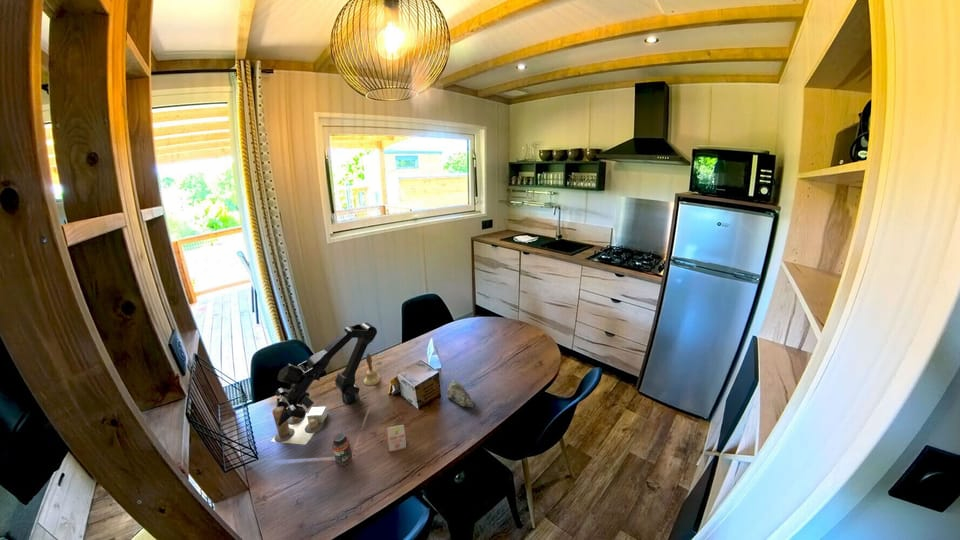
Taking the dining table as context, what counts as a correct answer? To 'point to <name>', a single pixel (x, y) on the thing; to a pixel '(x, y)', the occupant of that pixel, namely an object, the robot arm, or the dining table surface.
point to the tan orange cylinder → (284, 428)
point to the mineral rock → (459, 394)
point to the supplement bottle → (341, 449)
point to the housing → (317, 414)
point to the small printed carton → (396, 438)
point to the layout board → (299, 430)
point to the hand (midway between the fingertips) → (277, 422)
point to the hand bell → (371, 373)
